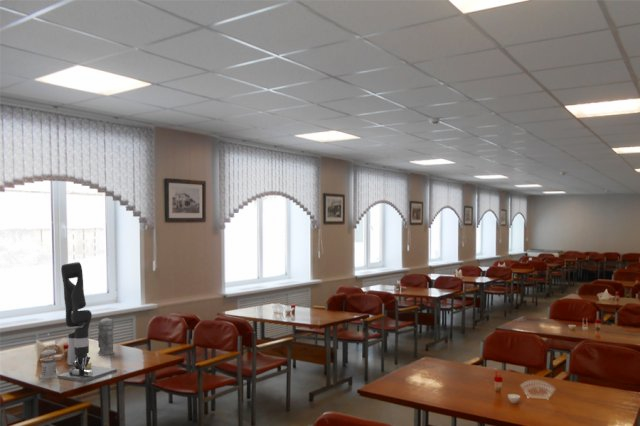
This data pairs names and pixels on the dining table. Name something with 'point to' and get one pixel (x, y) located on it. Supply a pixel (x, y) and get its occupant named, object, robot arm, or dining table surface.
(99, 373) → the jamb plate
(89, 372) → the bar
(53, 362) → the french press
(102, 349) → the figurine
